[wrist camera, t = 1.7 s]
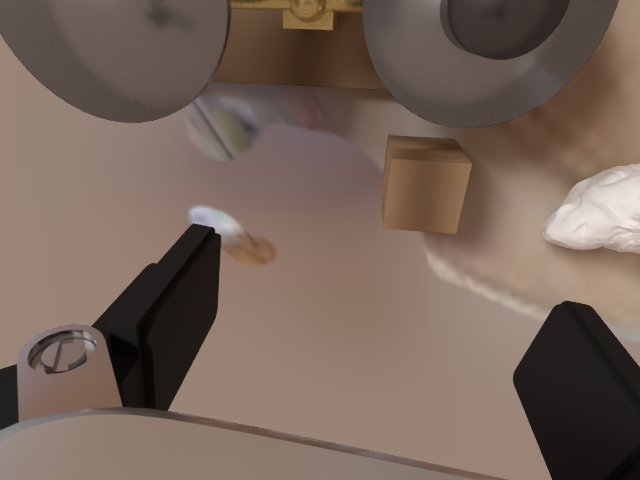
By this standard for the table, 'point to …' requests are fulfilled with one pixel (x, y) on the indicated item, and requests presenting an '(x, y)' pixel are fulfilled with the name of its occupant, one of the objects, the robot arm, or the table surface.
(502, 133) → the table surface
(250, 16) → the balance base
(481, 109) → the balance
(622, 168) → the bust
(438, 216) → the walnut block
